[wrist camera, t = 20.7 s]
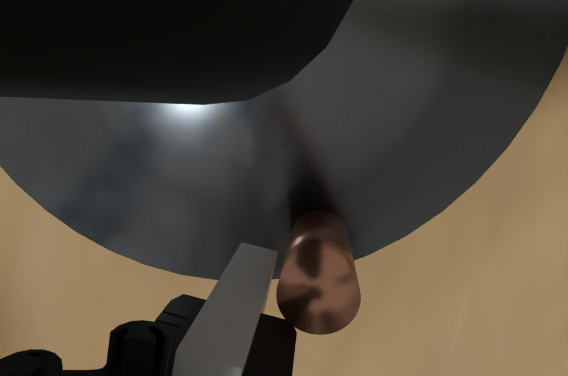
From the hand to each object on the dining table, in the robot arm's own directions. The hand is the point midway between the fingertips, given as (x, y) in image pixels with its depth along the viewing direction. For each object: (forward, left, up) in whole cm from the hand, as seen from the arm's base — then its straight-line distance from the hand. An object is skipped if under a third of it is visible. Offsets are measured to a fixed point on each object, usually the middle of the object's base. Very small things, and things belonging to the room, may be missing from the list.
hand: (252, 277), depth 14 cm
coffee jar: (-4, +11, -2) cm, 12 cm away
